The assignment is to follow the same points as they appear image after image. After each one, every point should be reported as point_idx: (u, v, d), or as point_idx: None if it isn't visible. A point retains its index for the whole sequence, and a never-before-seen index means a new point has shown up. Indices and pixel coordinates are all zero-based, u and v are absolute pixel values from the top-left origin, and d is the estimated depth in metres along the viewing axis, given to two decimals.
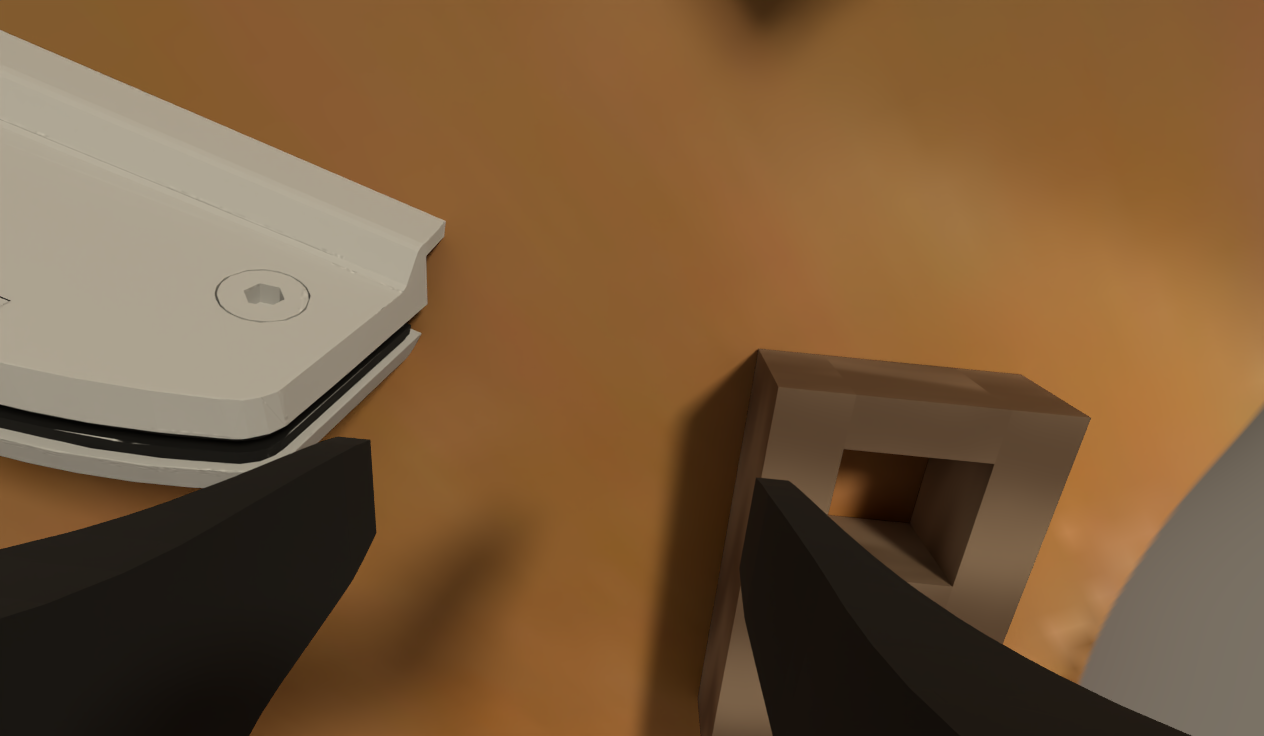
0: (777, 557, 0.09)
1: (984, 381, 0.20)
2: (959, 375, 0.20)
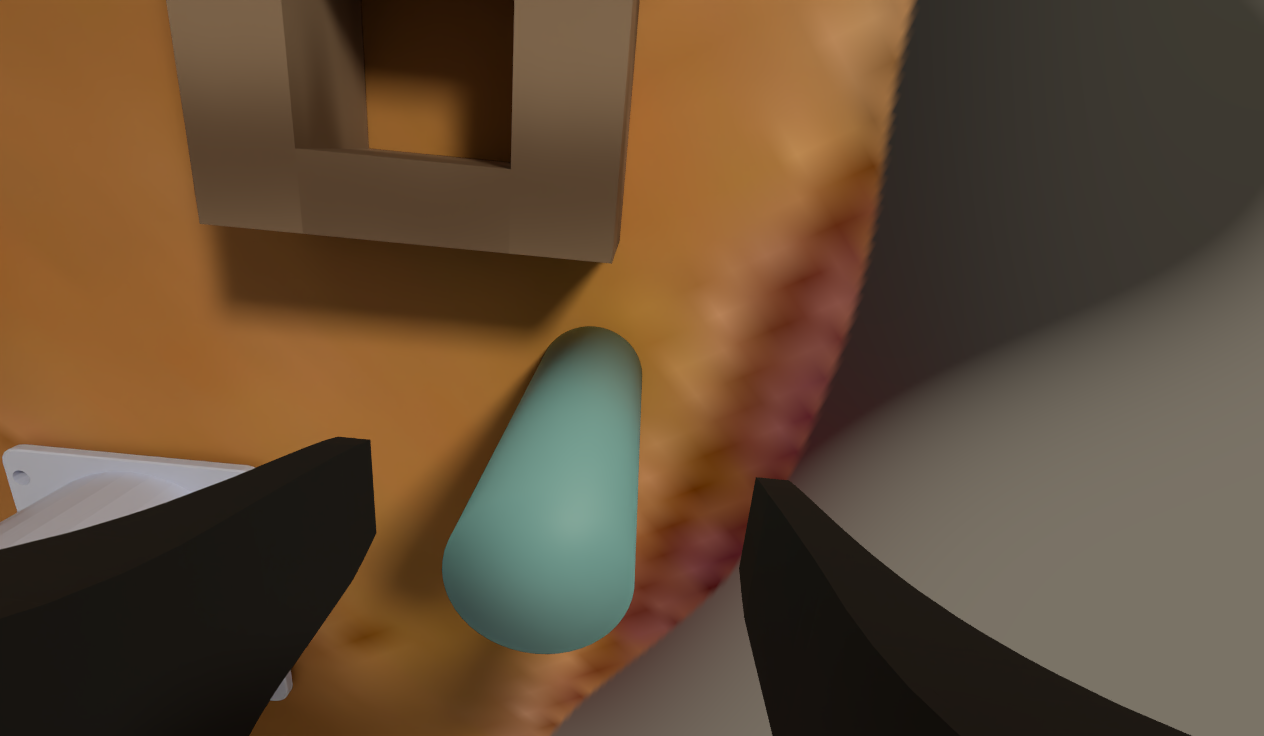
0: (777, 557, 0.09)
1: None
2: None
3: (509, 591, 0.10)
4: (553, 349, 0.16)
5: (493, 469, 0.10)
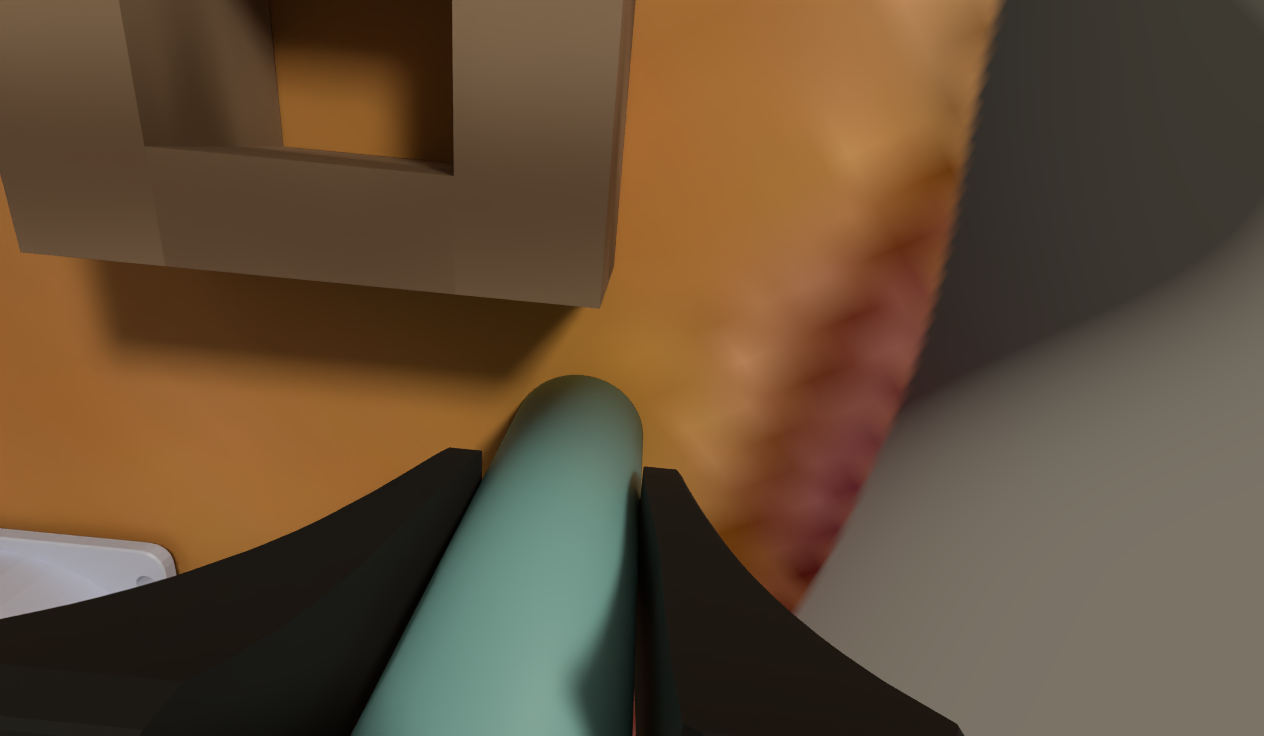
0: (645, 543, 0.09)
1: None
2: None
3: None
4: (527, 409, 0.12)
5: (403, 658, 0.06)
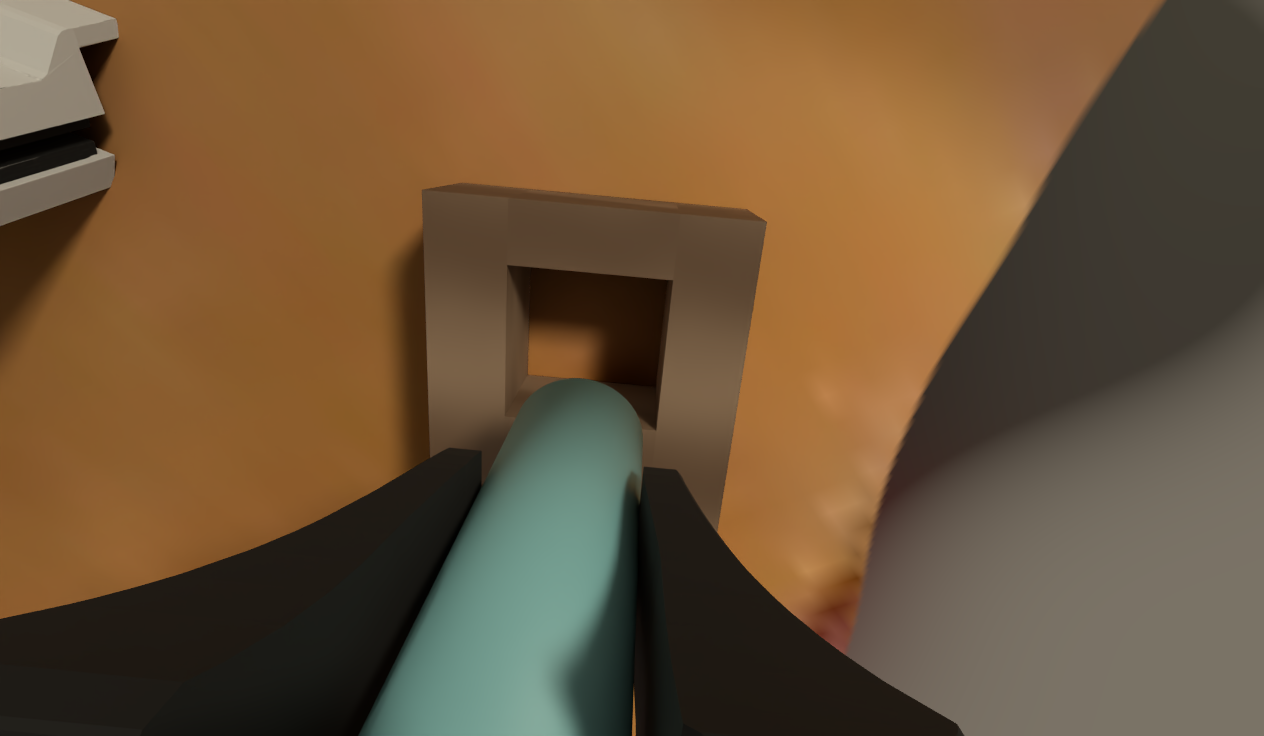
0: (645, 543, 0.09)
1: (689, 207, 0.18)
2: (669, 204, 0.18)
3: None
4: (524, 415, 0.13)
5: (400, 673, 0.06)
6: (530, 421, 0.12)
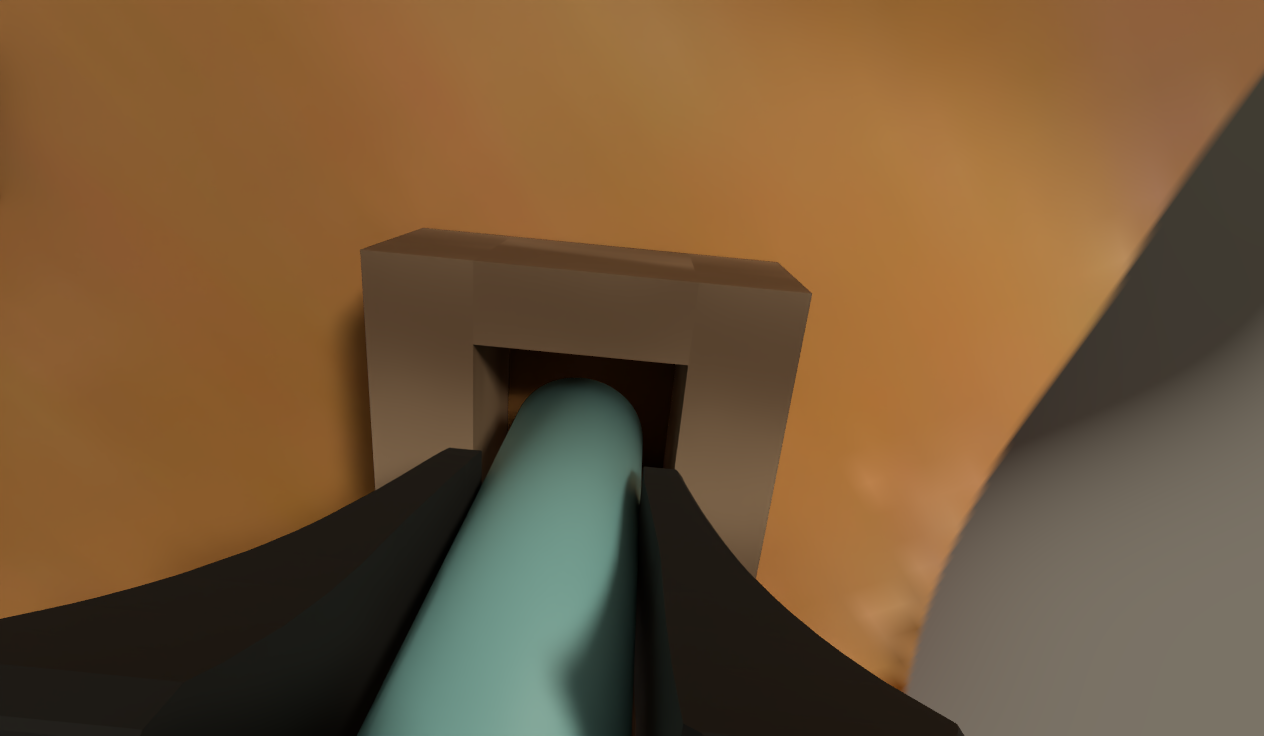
0: (645, 543, 0.09)
1: (707, 263, 0.14)
2: (681, 258, 0.15)
3: None
4: (524, 414, 0.12)
5: (399, 672, 0.06)
6: (530, 420, 0.12)
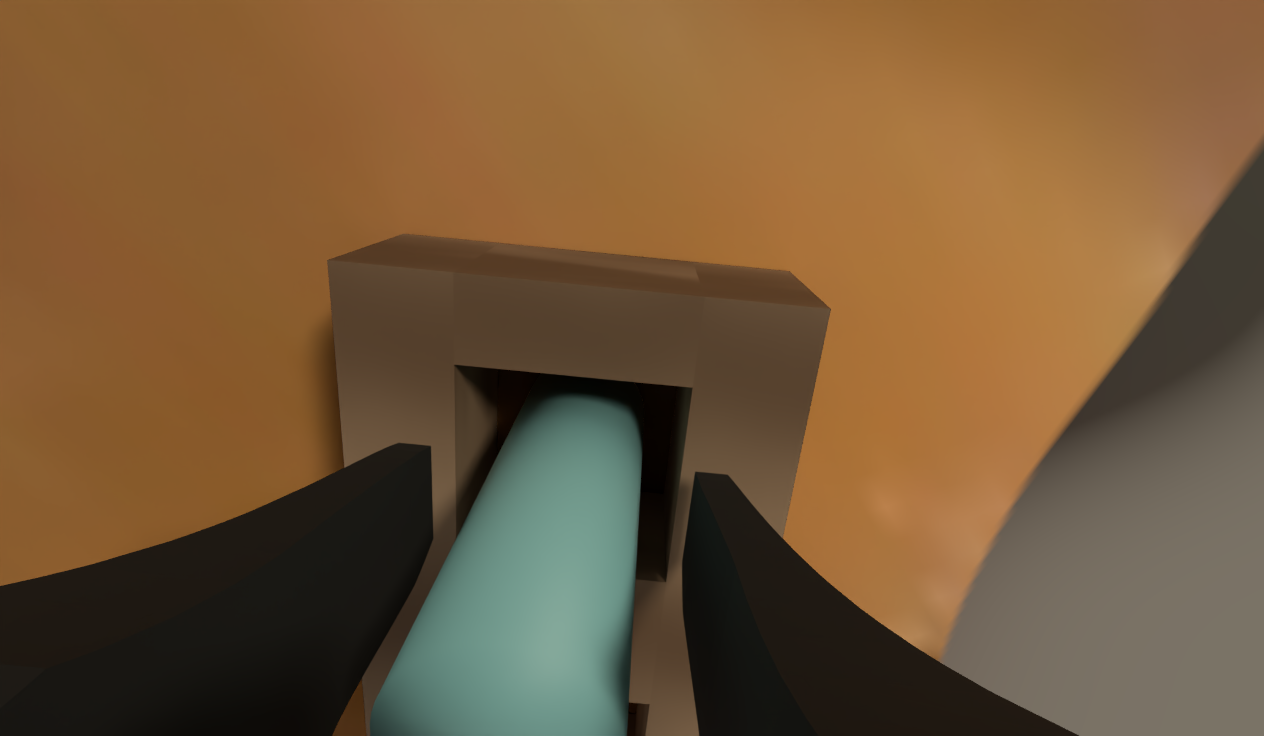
0: (705, 549, 0.09)
1: (713, 273, 0.13)
2: (684, 267, 0.13)
3: None
4: (537, 389, 0.14)
5: (441, 587, 0.08)
6: (543, 393, 0.13)
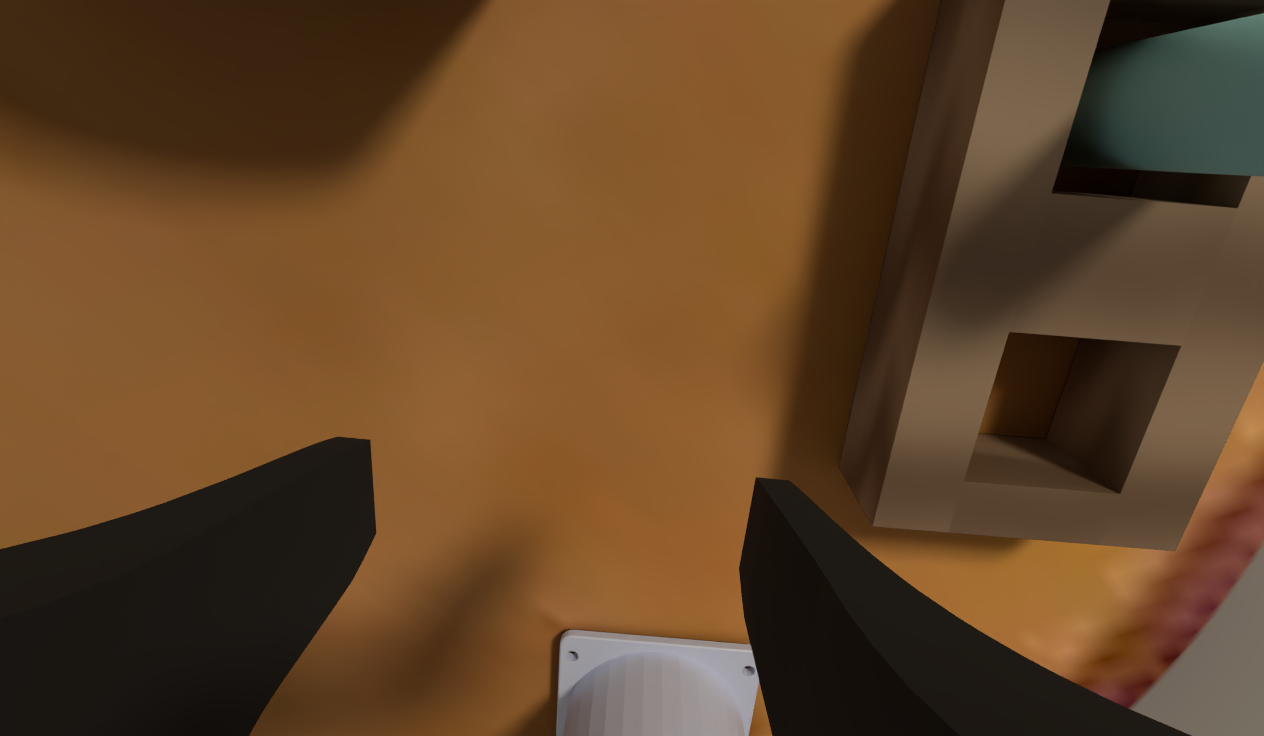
0: (777, 557, 0.09)
1: None
2: None
3: None
4: None
5: None
6: (1114, 48, 0.15)
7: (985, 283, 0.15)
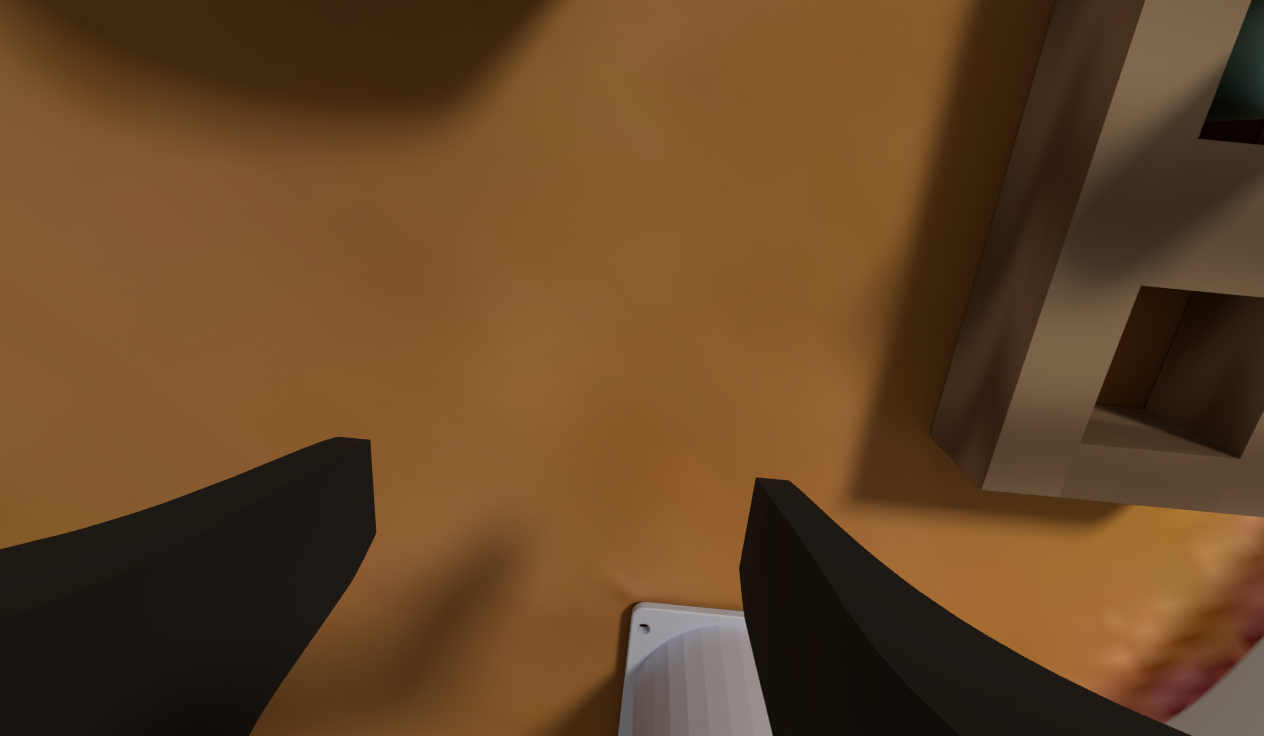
0: (777, 557, 0.09)
1: None
2: None
3: None
4: None
5: None
6: None
7: (1121, 233, 0.15)
